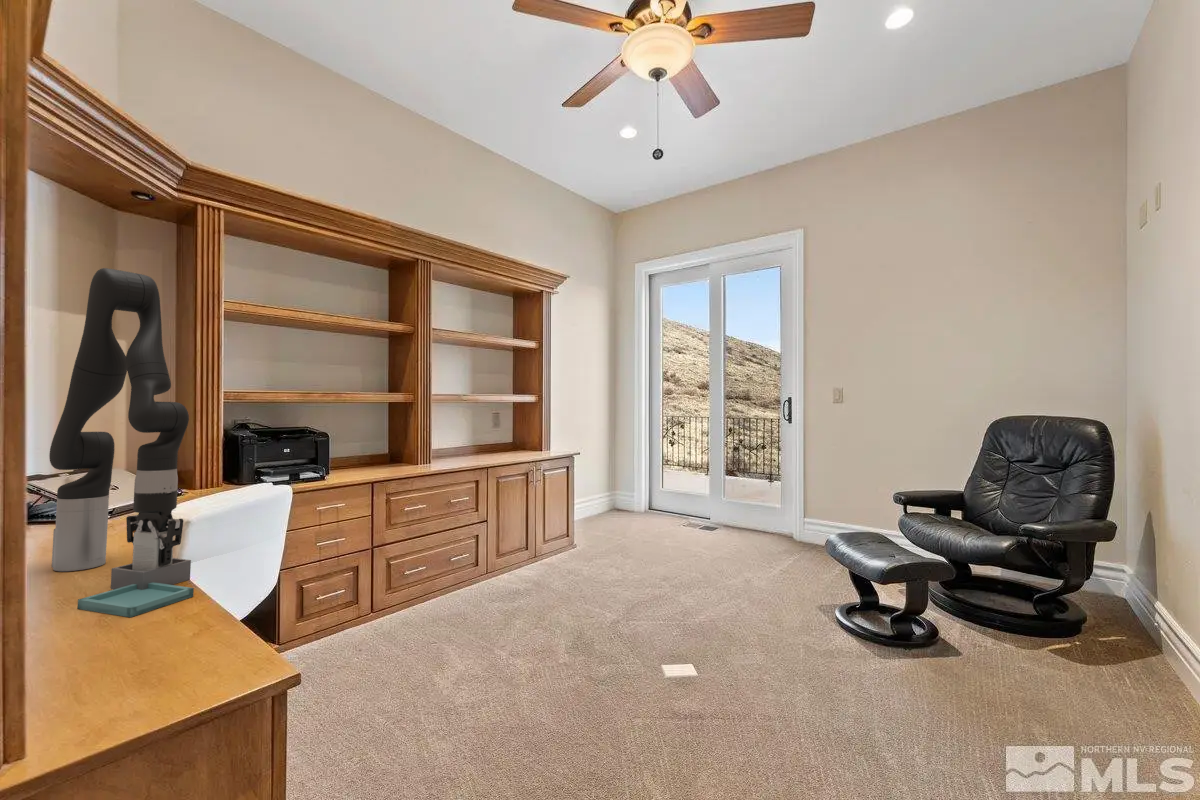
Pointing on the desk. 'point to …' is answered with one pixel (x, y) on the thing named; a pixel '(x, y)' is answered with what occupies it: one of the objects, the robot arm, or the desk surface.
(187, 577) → the holder
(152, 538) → the skincare box
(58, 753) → the desk surface
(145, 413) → the robot arm
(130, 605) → the tray
